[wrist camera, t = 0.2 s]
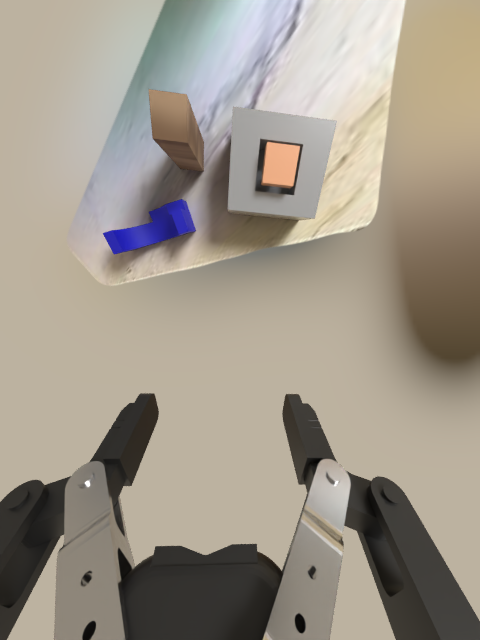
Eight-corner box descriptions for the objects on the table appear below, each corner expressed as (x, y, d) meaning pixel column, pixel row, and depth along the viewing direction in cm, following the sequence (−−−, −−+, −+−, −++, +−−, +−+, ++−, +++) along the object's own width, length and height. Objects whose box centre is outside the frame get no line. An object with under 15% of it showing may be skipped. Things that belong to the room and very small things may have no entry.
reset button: (263, 152, 25) (267, 141, 22) (292, 155, 25) (300, 146, 22) (259, 187, 26) (262, 182, 23) (286, 190, 26) (293, 186, 23)
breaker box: (233, 134, 28) (233, 106, 21) (314, 144, 28) (336, 120, 22) (228, 213, 32) (227, 209, 26) (299, 220, 33) (314, 218, 26)
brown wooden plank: (179, 138, 28) (148, 89, 18) (203, 141, 28) (186, 94, 18) (180, 168, 29) (152, 138, 19) (203, 171, 29) (187, 142, 20)
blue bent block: (186, 201, 31) (176, 196, 26) (196, 230, 33) (188, 231, 28) (119, 222, 32) (96, 222, 27) (132, 250, 34) (114, 254, 29)
